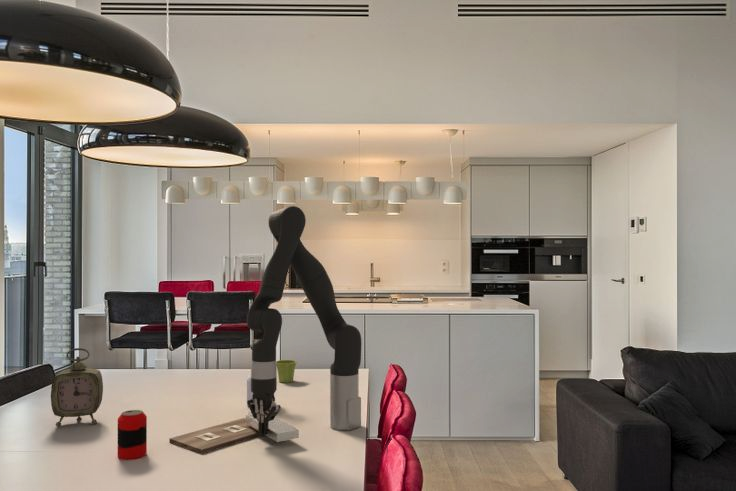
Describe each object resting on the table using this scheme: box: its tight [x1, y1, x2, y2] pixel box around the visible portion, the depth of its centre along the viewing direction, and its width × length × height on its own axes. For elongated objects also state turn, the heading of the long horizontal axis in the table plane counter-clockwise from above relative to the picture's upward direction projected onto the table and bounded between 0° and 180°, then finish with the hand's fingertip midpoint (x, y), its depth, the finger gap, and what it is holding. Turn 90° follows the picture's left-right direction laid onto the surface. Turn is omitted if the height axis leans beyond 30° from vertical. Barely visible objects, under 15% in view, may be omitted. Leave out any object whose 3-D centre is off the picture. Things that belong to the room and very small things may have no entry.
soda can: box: [117, 409, 148, 461], centre depth 167 cm, size 8×8×12 cm
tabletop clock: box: [50, 347, 104, 428], centre depth 198 cm, size 14×9×25 cm, turn 105°
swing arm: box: [245, 411, 300, 443], centre depth 184 cm, size 7×26×3 cm, turn 34°
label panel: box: [168, 417, 261, 455], centre depth 184 cm, size 16×28×2 cm, turn 141°
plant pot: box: [276, 359, 298, 384], centre depth 261 cm, size 9×9×9 cm
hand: (263, 434), depth 176 cm, fingers closed
